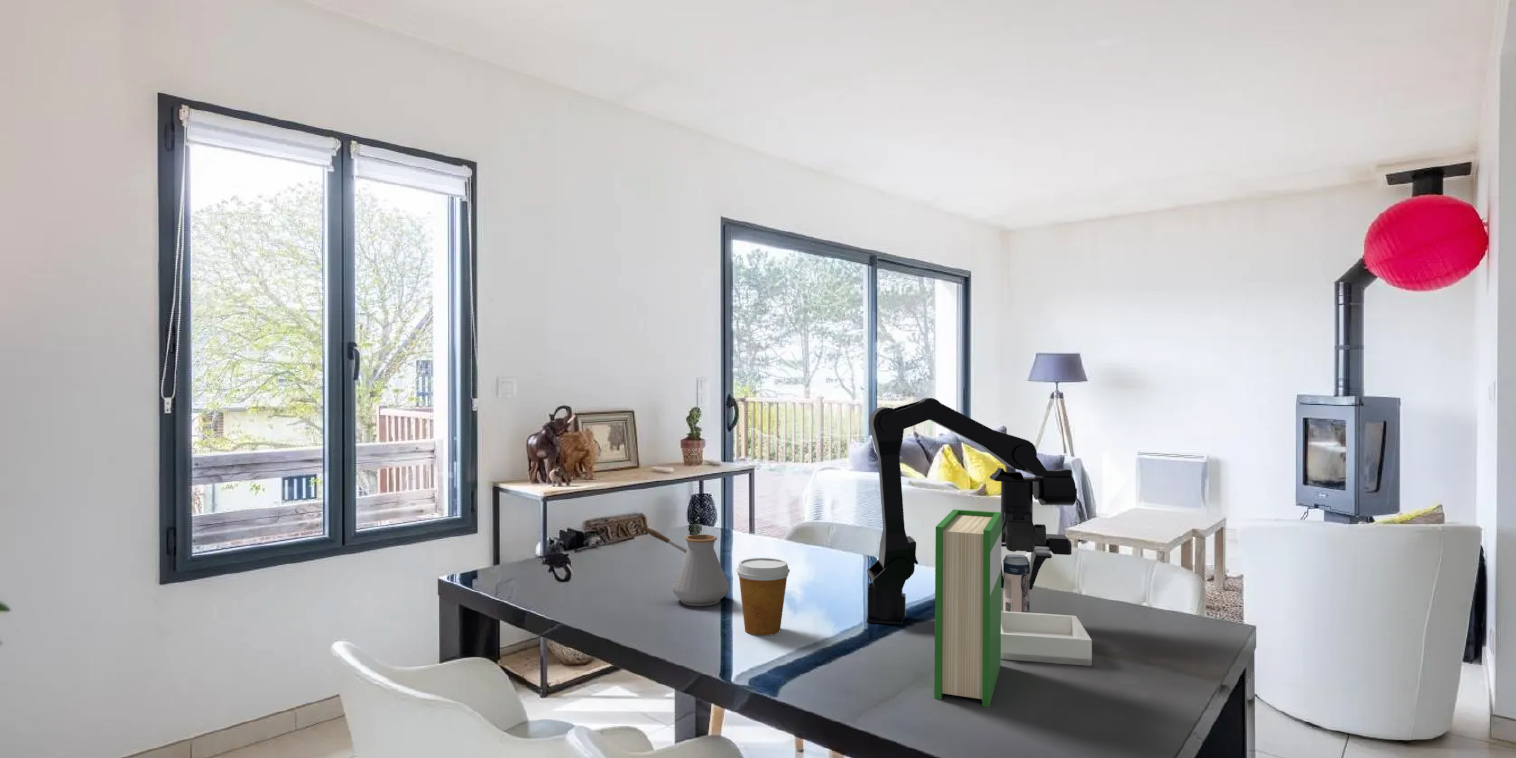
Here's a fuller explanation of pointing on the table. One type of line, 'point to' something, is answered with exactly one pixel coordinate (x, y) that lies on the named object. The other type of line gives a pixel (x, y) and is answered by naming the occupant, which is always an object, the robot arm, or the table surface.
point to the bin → (1044, 638)
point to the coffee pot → (696, 570)
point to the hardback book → (968, 604)
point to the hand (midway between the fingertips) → (1016, 588)
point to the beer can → (1016, 583)
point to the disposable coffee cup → (762, 593)
